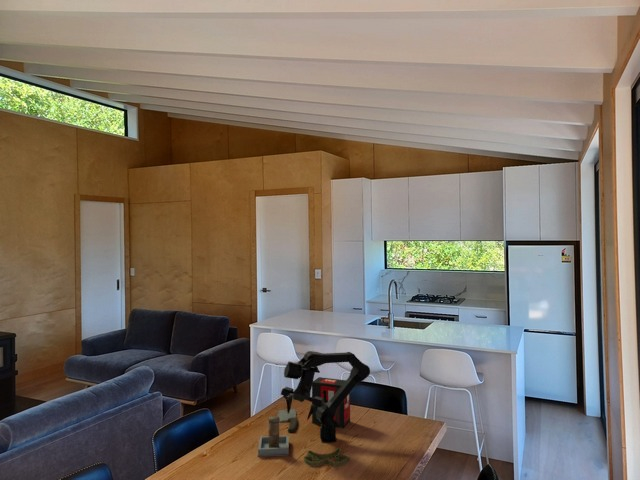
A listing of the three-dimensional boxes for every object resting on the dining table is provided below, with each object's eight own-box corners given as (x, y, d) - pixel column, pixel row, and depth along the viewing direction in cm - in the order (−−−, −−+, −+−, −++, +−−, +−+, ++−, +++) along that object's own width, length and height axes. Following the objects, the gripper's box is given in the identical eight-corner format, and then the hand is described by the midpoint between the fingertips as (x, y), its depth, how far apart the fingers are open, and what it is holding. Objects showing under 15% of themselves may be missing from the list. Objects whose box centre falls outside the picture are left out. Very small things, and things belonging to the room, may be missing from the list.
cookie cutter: (344, 452, 187) (344, 447, 187) (351, 465, 175) (351, 460, 175) (302, 455, 184) (302, 451, 184) (306, 470, 172) (306, 465, 172)
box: (288, 442, 196) (288, 435, 196) (288, 455, 183) (288, 448, 183) (260, 443, 195) (260, 436, 195) (258, 456, 182) (258, 449, 182)
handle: (280, 445, 191) (280, 416, 191) (277, 450, 186) (277, 420, 186) (270, 444, 192) (270, 415, 192) (267, 449, 187) (267, 419, 188)
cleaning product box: (350, 421, 219) (349, 380, 219) (344, 428, 211) (343, 385, 211) (319, 416, 225) (318, 377, 225) (312, 423, 217) (311, 382, 217)
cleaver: (299, 432, 206) (299, 428, 206) (278, 434, 205) (278, 429, 205) (295, 410, 236) (295, 406, 236) (276, 411, 234) (276, 407, 234)
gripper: (280, 377, 191) (272, 413, 189) (321, 390, 185) (313, 427, 184) (289, 373, 201) (280, 408, 200) (328, 385, 196) (319, 421, 195)
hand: (298, 416), depth 194 cm, fingers open, 9 cm apart
